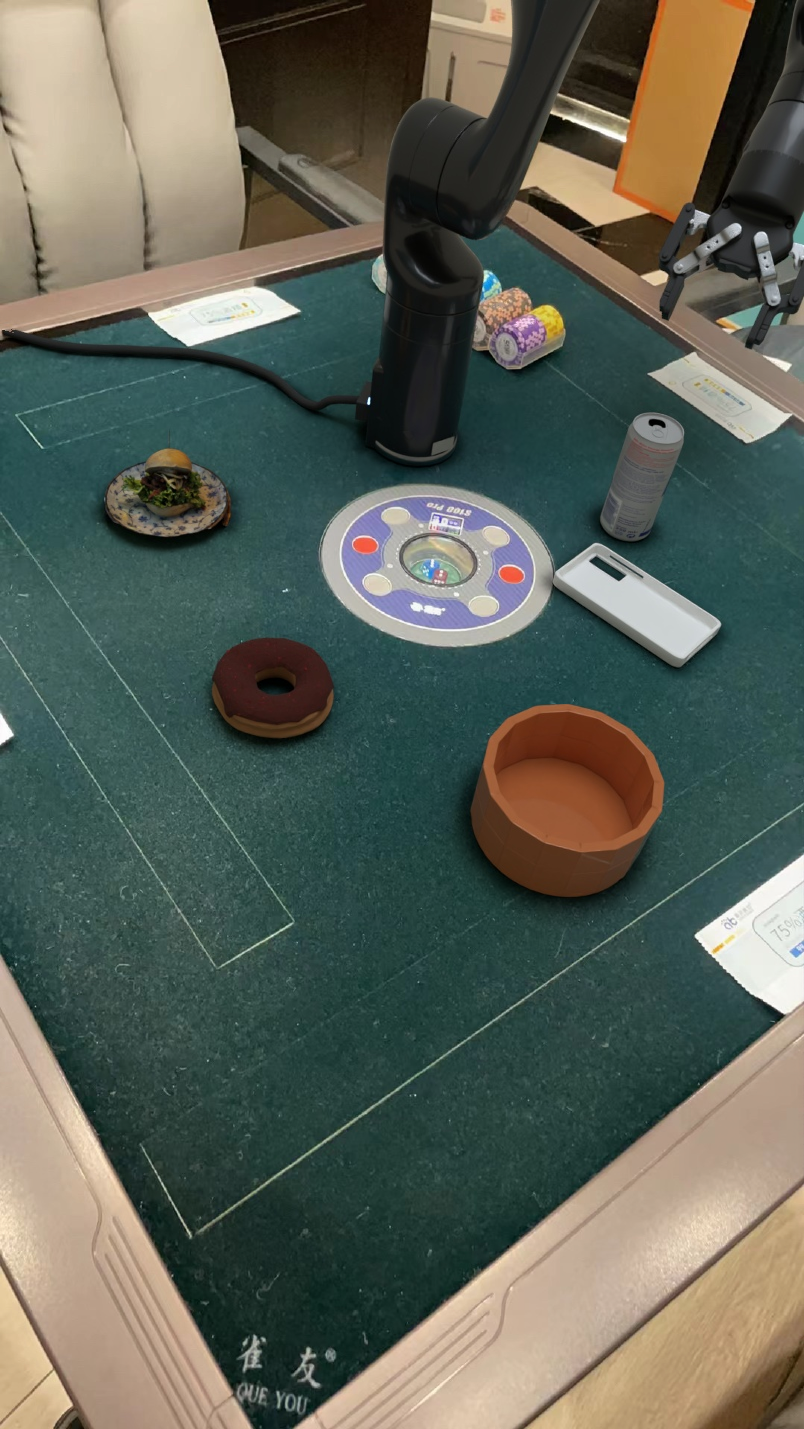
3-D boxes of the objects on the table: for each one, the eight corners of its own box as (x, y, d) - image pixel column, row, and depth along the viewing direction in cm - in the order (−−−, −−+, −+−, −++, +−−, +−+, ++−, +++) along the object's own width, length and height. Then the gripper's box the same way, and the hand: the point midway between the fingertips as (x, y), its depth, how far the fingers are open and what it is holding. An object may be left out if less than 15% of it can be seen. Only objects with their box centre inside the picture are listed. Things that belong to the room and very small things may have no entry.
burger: (81, 524, 100) (70, 460, 94) (146, 458, 107) (140, 395, 101) (193, 566, 98) (189, 503, 92) (252, 496, 105) (252, 433, 99)
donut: (350, 679, 91) (353, 648, 88) (306, 762, 85) (308, 732, 82) (243, 643, 92) (242, 611, 89) (192, 723, 86) (190, 691, 83)
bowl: (455, 871, 80) (469, 823, 75) (487, 737, 88) (501, 686, 83) (631, 916, 79) (657, 871, 74) (645, 777, 88) (669, 728, 83)
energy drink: (648, 513, 110) (684, 415, 101) (651, 546, 107) (688, 449, 98) (598, 505, 110) (629, 407, 101) (599, 538, 107) (631, 440, 98)
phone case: (549, 583, 102) (677, 670, 96) (552, 573, 101) (681, 660, 95) (594, 550, 105) (719, 632, 100) (597, 540, 104) (724, 622, 99)
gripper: (845, 210, 102) (772, 368, 104) (706, 166, 105) (638, 321, 107) (859, 172, 95) (780, 343, 96) (709, 126, 98) (636, 293, 100)
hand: (706, 331), depth 102 cm, fingers open, 8 cm apart
